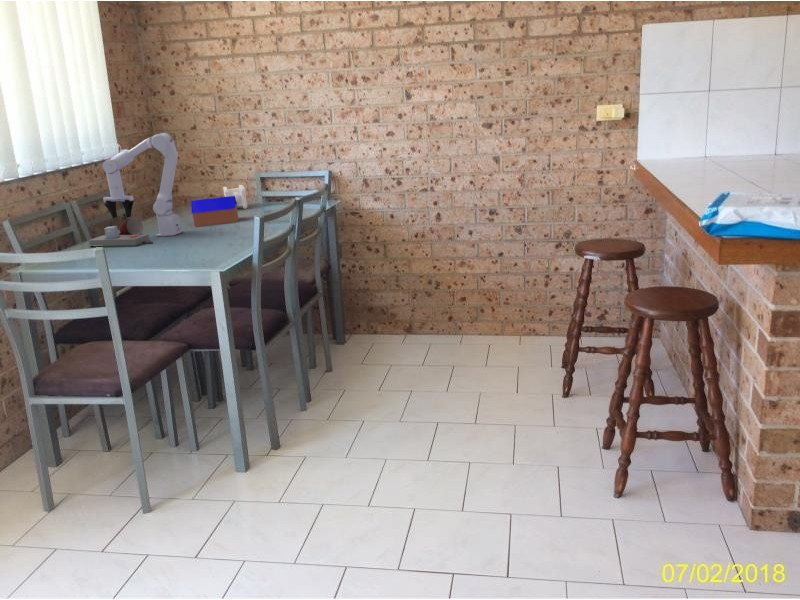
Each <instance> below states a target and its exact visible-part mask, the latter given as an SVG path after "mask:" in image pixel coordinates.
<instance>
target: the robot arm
mask: <svg viewBox="0 0 800 600" xmlns="http://www.w3.org/2000/svg"><path fill="white" fill-rule="evenodd" d="M175 144H176V143H175V140H174V139H173V137H172V136H171V135H170V134H169V133H167V132H162V133H157V134H154V135H153V136H151V137H150V136H149V137H148V138H146V139H144V140H142V141H141V142H140V143H138V144H137V145H135V146H134V147H132V148H131V149H126V148H125V149H120V150H118V151H119V153H117V154H116V155H115V154H114V155H112V156H110V159H108V158H107V159H106V160H104V161H103V163H102V170H103V171H104V172H105V175H106V181H107V184H108V188H109V194H110V196H104V197H103V198H102V199H103V200H102V201H103V203H104V204H103V205H104V206H105V207H106V208H107V210H108V211H109V213H110V214H111V217H112V219H115V218H117V217H118V213H117V202H121V204H122V206H123V209H124V211H125V215H126V218H127V219H129V218H132V210H133V205H134V202H135V201H134V200H135V198H134V196H133V195H125V192H124V191H125V190H124V186H123V181H122V176H121V172H120V170H121V169H122V168H124V167H126V166H127V165H128V164H130V163H132V162H134V160H135V156H137V155H139V154H141V153H143V152H144V151H146V150H148V149H156V150H157V151H159V152H160V154H161V155H162V156H163V157H164V161H163V162H164V163H163V168H162V175H161V180H160V186H159V191H158V194H157V196H156V200H155V202H154V203H153V205H152V210H153V212H154V213H155V215H156V222H157V226H158V232H159V233H157V234H155V237H164V236H167V237H168V236H169V237H170V236H172V237H173V236H175V235H178V234H181V233H183V232H184V230H183V229H182V228H183V227H182V223H181V218H180V216H179V214H175V213H174V212H173V210H172V209H173V208H174V204H173V195H172V193H173V192H172V191H173V186H174V182H175V181H174V180H175V174H176V168H177V163H178V157H179V153H178V150H177V148H176V145H175Z"/></svg>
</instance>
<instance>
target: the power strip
mask: <svg viewBox="0 0 800 600" xmlns="http://www.w3.org/2000/svg"><path fill="white" fill-rule="evenodd" d="M88 243H89V244H88V245H89V246H90V245H92V246H93V245H103V246H105V247H104V248H106V246H122V247H138V246H141V245H143V244H144V245H145V244H147V245H148V244H153V243H154V242H153V240H150V236H149V234H148V233H147V234H139V235H119V237H118V238H115V239H106V235H101V236H98V237H95V238H92V239H89V240H88Z"/></svg>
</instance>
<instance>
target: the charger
mask: <svg viewBox="0 0 800 600" xmlns="http://www.w3.org/2000/svg"><path fill="white" fill-rule="evenodd" d="M118 229H119V228H118V226H117V225H114V226H106V227H104V229H103V230H104V233H105V236H106V239H115V238H118V237H119V230H118Z"/></svg>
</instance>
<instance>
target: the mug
mask: <svg viewBox="0 0 800 600" xmlns="http://www.w3.org/2000/svg"><path fill="white" fill-rule="evenodd" d="M118 229H119V230H118V231H119V232H118V234H119V235H141V233H142V232H143V229H144V226H143V223H142V221H141V220H140V219H139V218H137V217H129V218H127V219H125V220H124V221H122V222H121V223H120V225H119V228H118Z"/></svg>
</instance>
